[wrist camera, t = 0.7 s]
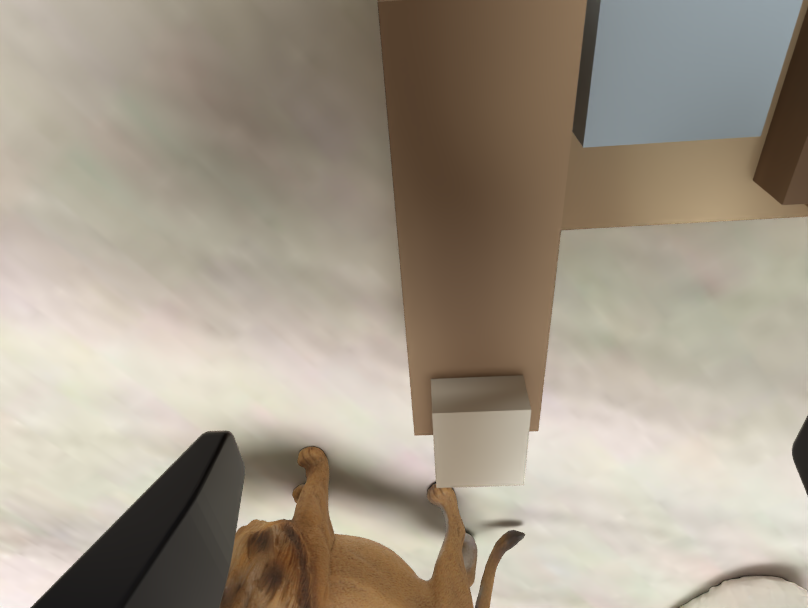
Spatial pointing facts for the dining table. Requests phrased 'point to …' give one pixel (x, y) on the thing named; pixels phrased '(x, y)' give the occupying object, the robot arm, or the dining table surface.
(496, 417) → the tall wooden prism
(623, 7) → the wing slat
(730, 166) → the jig
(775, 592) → the white creature statuette
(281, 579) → the lion figurine
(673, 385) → the dining table surface
